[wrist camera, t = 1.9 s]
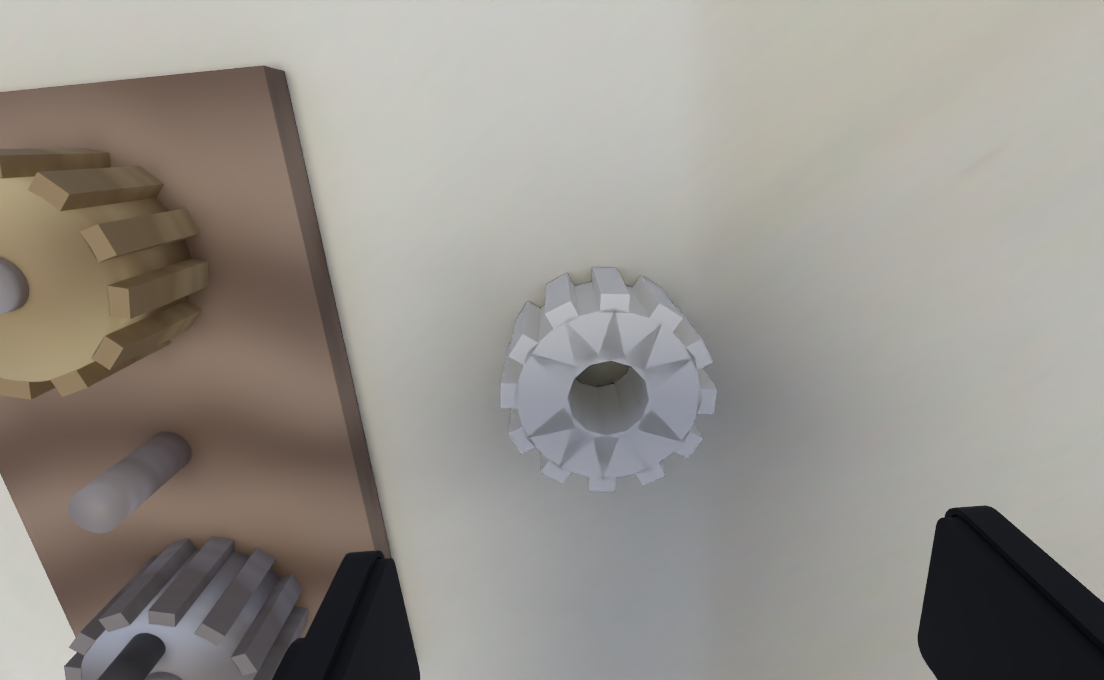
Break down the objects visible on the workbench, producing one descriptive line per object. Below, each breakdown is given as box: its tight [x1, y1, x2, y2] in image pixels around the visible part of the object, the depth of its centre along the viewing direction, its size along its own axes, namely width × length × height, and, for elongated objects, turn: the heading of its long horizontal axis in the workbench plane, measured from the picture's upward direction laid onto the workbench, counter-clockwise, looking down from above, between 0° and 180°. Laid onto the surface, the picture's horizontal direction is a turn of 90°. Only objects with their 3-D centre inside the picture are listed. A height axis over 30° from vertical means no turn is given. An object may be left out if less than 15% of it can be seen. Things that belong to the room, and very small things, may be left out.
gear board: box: [0, 66, 391, 680], centre depth 20 cm, size 26×14×8 cm, turn 5°
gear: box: [500, 267, 717, 492], centre depth 21 cm, size 7×7×4 cm
